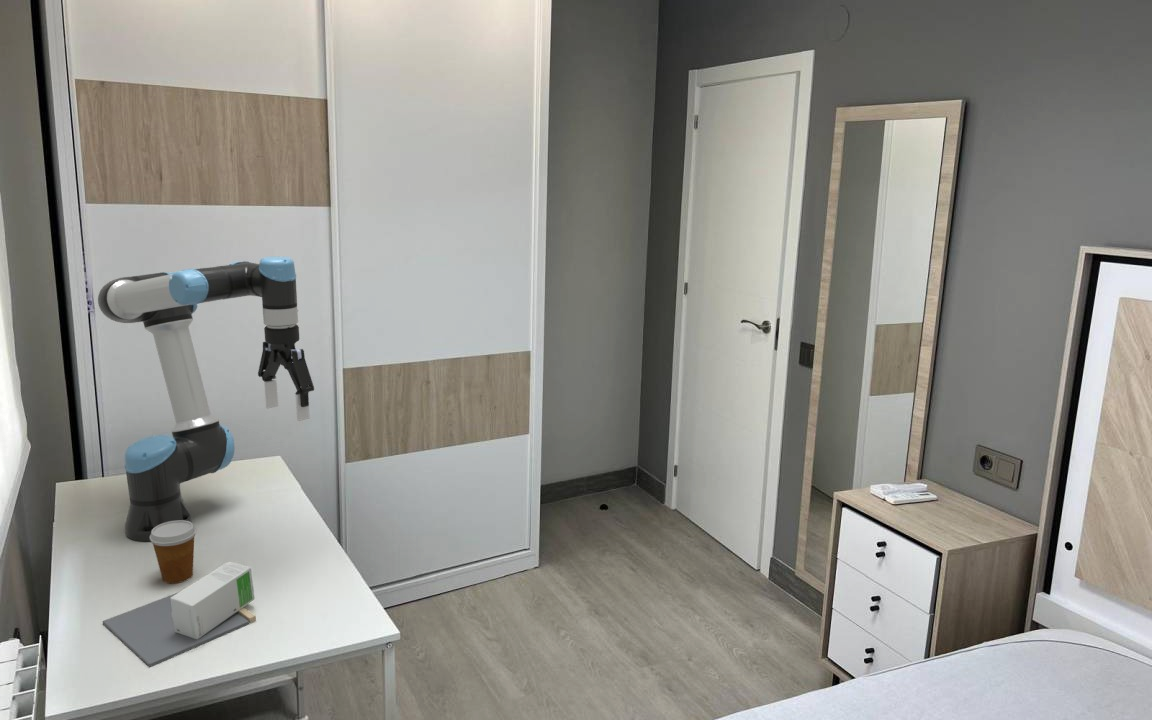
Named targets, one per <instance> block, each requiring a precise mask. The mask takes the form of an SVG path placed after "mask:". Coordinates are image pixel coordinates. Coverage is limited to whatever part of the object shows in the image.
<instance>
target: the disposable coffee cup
mask: <svg viewBox="0 0 1152 720" xmlns="http://www.w3.org/2000/svg"><path fill="white" fill-rule="evenodd" d="M196 533H197V528H196V527H195V526H194V523H193V522H192V521H191V522H189V521H184V520H177V521H170V522H166V523H162V524H160V525H158V526H156V527H155V528H153V529H152V531H151V535H150V540H151V541H150V542H151V543H152V547H153V549H154V552H155V557H156V561H157V564H158V568H159V571H160V574H161V579H162V581H163V582H164V583H166V584H179V583H183V582H186V581H188V580H190V579H191V578H192V577H193V575H194V559H195V558H194V557H195V556H194V553H195V548H194V547H195V536H196Z"/></svg>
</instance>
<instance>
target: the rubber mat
mask: <svg viewBox="0 0 1152 720" xmlns="http://www.w3.org/2000/svg"><path fill="white" fill-rule="evenodd" d="M179 592H180V591H178V592H175V593H173V594H171V595H168V596H165V597H163V598H160V599H158V600H155V601H152V602H149V603H147V604H144V605H142V606H138V607H136V608H134V609H131V610H128V611H126V612H122V613H120V614H118V615H115V616H113V617H109V618H107V619H105V620H103V621H102V624H103V625H104V626H105V627H106V628H107V629H108V630H109V631H110V632H111V633H113V635H114V636H116V637H117V638H118V640H120V641H121V642H122V643H123V644H124V645H125V646H126V647H127V648H129V649H130V650H131V651H132V652H133V653H134V654H135V655H136V656H137V657H138V658H139V659H140V660H141V661H142V662H144V664H146V665H147V666H148V667H149V668H150V667H154V666H155V665H157V664H160V663H162V662H165V661H167V660H170V659H171V658H174V657H176V656H178V655H182V654H183V653H185V652H187V651H190V650H193V649H194V648H197V647H200V646H202V645H204V644H206V643H208V642H210V641H213V640H216V639H217V638H221V637H222V636H225V635H226V634H227V635H228V634H230V633H231V632H234V631H237V630H239V629H240V628H243V627H245V626H247V625H249V624H252V623H255V622H257V617H256V615H255V614H254V613H252V612H251V611H249V610H248V609H246V608H245V607H243V608H242V609H240V610H239V611H237V612H236V613H235V614H233V615H232V616H230V617H229V618H227V619H226V620H225V621H223V622H222V623H220V624H219V625H217V626H216V627H215V628H213V629H212V630H210V631H209V632H207V633H206V634H204V635H203V636H202V637H200V638H199V639H198V640H197V639H194V638H191V637H188V636H186V635H183V634H180V633H177V632H175V628H174V620H173V618H172V605H171V599H170V598H171V597H172V596H174V595H176V594H177V593H179Z"/></svg>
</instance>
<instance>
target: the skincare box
mask: <svg viewBox="0 0 1152 720" xmlns="http://www.w3.org/2000/svg"><path fill="white" fill-rule="evenodd" d="M253 582H254V581H253V575H252V567H250V566H247V565H245V564H244V565H243V564H240V563H238V562H237V563H236V562H233V561H231V560H229V561H227V562H225V563H224V564H222V565H221V566H219V567H217V568H216V569H215V570H212V571H211V572H209V573H208V574H206V575H204V576H203V577H201V578H200V579H198V580H197V581H195V582H194V583H192V584H190V585H188V586H186V587H185V588H184V589H182V590H180V591H178V592H179V593H178V592H176V593H177V594H176V595H174V596H172V597H171V598H170V599H171V605H172V618H173V620H174V628H175V632H177V633H180V634H183V635H186V636H188V637H191V638H194V639H197V640H198V639H199V638H200V637H202V636H203V635H204V634H206V633H207V632H209V631H210V630H212V629H213V628H215V627H216V626H217V625H219V624H220V623H222V622H223V621H225V620H226V619H227V618H229V617H230V616H232V615H233V614H235V613H236V612H237V611H239V610H240V609H242V608H243V607H244V608H245V607H246V606H247V605H249V604H250V603H252V602H253V601H255V591H254V583H253Z"/></svg>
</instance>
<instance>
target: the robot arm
mask: <svg viewBox="0 0 1152 720" xmlns="http://www.w3.org/2000/svg"><path fill="white" fill-rule="evenodd" d="M297 293H298V292H297V273H296V269H295V261H294V260H293V259H292V258H291V257H288V256H267V257H266V256H265V257H262V258H261V259H260V260H259V263H256V262H250V261H246V260H243V261H232V262H231V263H229V264H228V265H227V264H225V265H218V266H217V265H216V266H213V267H211V266H210V267H200V268H188V269H183V270H179V271H171V272H169V271H167V272H166V271H165V272H164V271H163V272H158V273H148V274H142V275H134V276H124V277H119V278H116V279H113V280H111V281H109V282H107V283H106V284H104V286H102V288H101V289H100V291H99V293H98V296H97V304H98V307H99V309H100V311H101V312H102V314H103V315H104V316H105V317H106V318H107V319H110V320H111V321H113V322H117V323H121V324H135V323H140V322H141V323H143V326H144V329H145V331H148V332H149V333H151V334H152V335H153V340H154V343H155V347H156V351H157V355H158V359H159V363H160V366H161V371H162V375H163V378H164V382H165V385H166V388H167V389H166V390H167V393H168V398H169V401H170V405H171V409H172V413H173V416H174V420H175V425H174V426H173V428H172V429H171V435H168V434H157V435H156V436H153V435H151V436H148V437H145V438H144V437H143V438H141V439H139V440H137V441H135V442H133V443H132V444H130V445H129V446H128V447H127V449H126V451H125V453H124V471H125V474H126V480H127V481H126V482H127V489H128V496H129V508H128V511H127V517H126V520H125V524H124V529H125V536H126V538H128V539H131V540H133V541H137V542H139V541H140V542H151V540H150V535H151V531H152V529H153V528H155V527H156V526H158V525H160V524H162V523H166V522H170V521H177V520H184V521H189V522H191V523H192V516H191V512H190V511H189V509H188V507H187V505H186V503H185V502H184V499H183V498H182V492H181V484H182V483H185V482H188V481H189V482H190V481H192V480H194V479H197V478H201V477H203V476H206V475H209V474H214V473H217V472H218V471H220V470H223V469H225V468H227V467H228V466H230V464H231V462H232V461H233V458H234V456H235V448H236V447H235V439H234V437H233V434H232V432H230V429H229V428H228V427H227V426H225V425H222V424H220V420H219V419H218V418H216V417H215V416H213V415H212V414H211V411H210V407H209V402H208V397H207V396H206V395H207V394H206V391H205V387H204V383H203V380H202V374H201V372H200V367H199V364H198V363H199V362H198V359H197V356H196V355H197V354H196V352H195V348H194V344H193V340H192V339H193V338H192V336H191V332H190V328H189V327H190V325H191V323H192V322H193V321H194V318H193V314H194V313H195V312H196V310H197V309H198V304H204V303H210V302H216V301H221V300H229V299H235V298H241V297H243V298H244V297H249V296H252V297H253V296H254V297H260V298H261V300H262V301H261V302H262V317H263V325H264V326H265V327H264V328H263V329H264V341H263V342H262V353H261V357H260V361H259V367H258V372H257V375H258V377H259V378H261V379H262V381H263V383H264V394H265V395H264V396H265V408H266V409H272V408H277V407H279V400H278V399H279V397H278V386H277V385H278V383H277V376H276V375H277V373H278V371H279V368H280V367H281V366H283V368H284V369H285V370H287V371H288V373H289V376H290V379H291V381H292V383H293V384H294V386H295V389H296V392H295V393H294V394H295V403H296V404H295V405H296V420H297V421H298V422H300V421H305V420H308V419H310V418H311V417H310V406H309V405H310V401H309V400H310V399H309V393H311V392H313V391H314V390H315V387H314V383H313V380H312V377H311V374H310V370H309V368H308V364H307V361H306V357H305V350H304V349H303V348H300V349H296V343H297V342H298V341H300V327H299V325H298V323H299V315H298V312H299V309H298V294H297Z"/></svg>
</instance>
